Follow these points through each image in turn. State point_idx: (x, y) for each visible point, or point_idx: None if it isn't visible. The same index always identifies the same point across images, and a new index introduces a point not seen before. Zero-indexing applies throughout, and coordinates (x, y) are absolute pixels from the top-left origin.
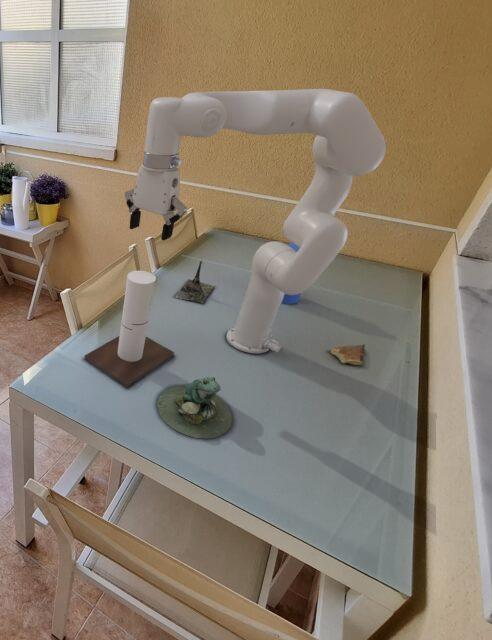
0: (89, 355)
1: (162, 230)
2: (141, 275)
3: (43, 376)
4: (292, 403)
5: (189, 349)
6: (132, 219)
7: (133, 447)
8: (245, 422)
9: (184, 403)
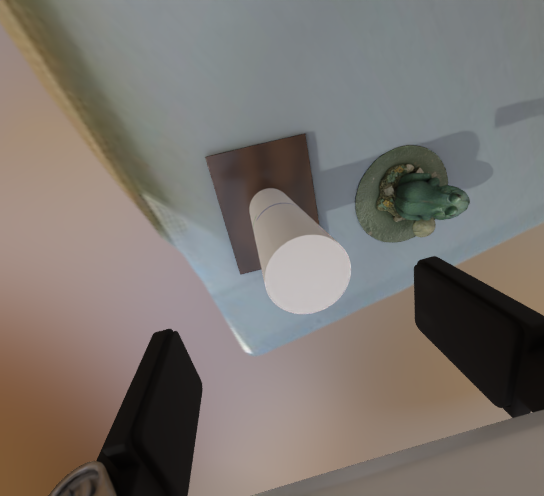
0: (243, 268)
1: (460, 370)
2: (300, 271)
3: (247, 330)
4: (488, 40)
5: (302, 87)
6: (188, 457)
7: (393, 292)
8: (455, 148)
9: (417, 230)
